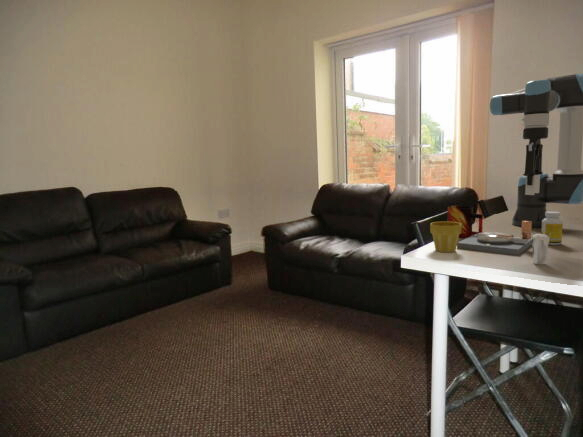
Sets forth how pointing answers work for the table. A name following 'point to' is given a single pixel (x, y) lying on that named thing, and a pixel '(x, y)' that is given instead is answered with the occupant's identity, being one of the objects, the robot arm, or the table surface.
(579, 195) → the robot arm
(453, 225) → the plant pot
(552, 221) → the pill bottle
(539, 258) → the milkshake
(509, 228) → the table surface
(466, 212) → the mug
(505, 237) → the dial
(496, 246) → the base plate
